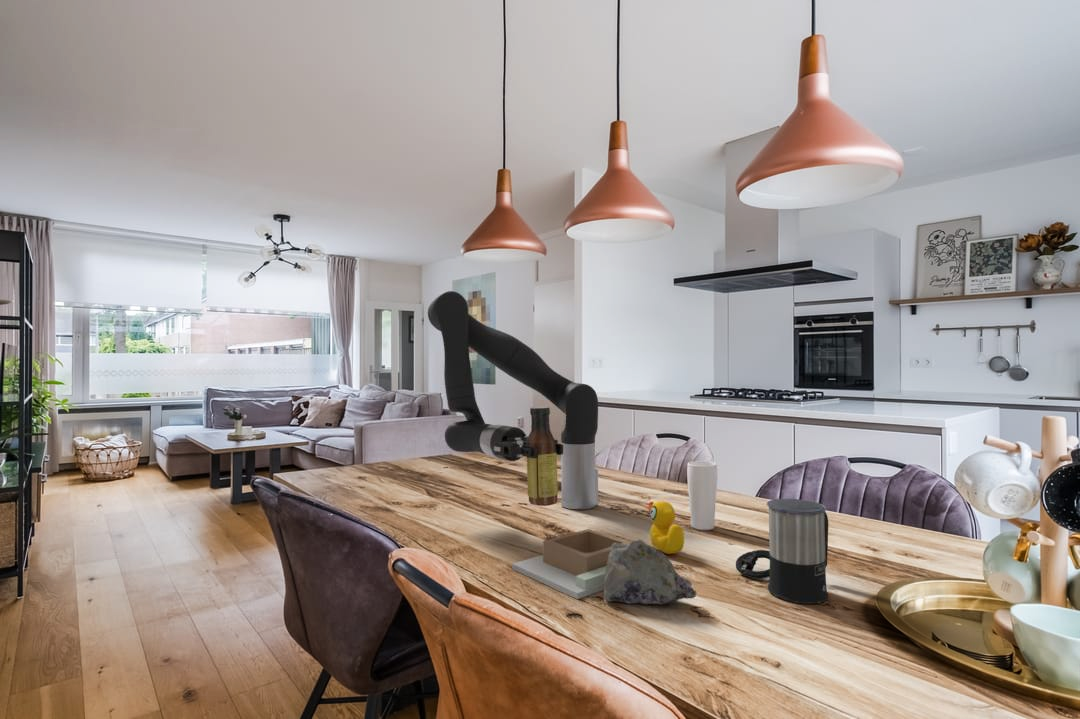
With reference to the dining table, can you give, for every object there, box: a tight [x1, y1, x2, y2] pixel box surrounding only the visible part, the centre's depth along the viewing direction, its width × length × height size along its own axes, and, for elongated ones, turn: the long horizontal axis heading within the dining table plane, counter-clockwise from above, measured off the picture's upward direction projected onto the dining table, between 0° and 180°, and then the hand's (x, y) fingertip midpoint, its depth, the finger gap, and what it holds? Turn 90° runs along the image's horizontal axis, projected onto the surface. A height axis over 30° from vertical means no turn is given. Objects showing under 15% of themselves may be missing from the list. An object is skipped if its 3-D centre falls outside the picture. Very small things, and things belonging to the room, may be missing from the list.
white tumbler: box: [686, 460, 718, 531], centre depth 133 cm, size 7×7×15 cm
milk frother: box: [735, 498, 829, 605], centre depth 98 cm, size 14×16×15 cm
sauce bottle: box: [526, 406, 559, 507], centre depth 117 cm, size 6×6×20 cm
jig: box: [511, 528, 632, 600], centre depth 107 cm, size 22×18×5 cm
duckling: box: [648, 500, 685, 555], centre depth 116 cm, size 11×5×10 cm, turn 19°
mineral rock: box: [603, 539, 698, 605], centre depth 91 cm, size 13×11×10 cm
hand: (549, 451), depth 115 cm, fingers closed on sauce bottle, 6 cm apart
